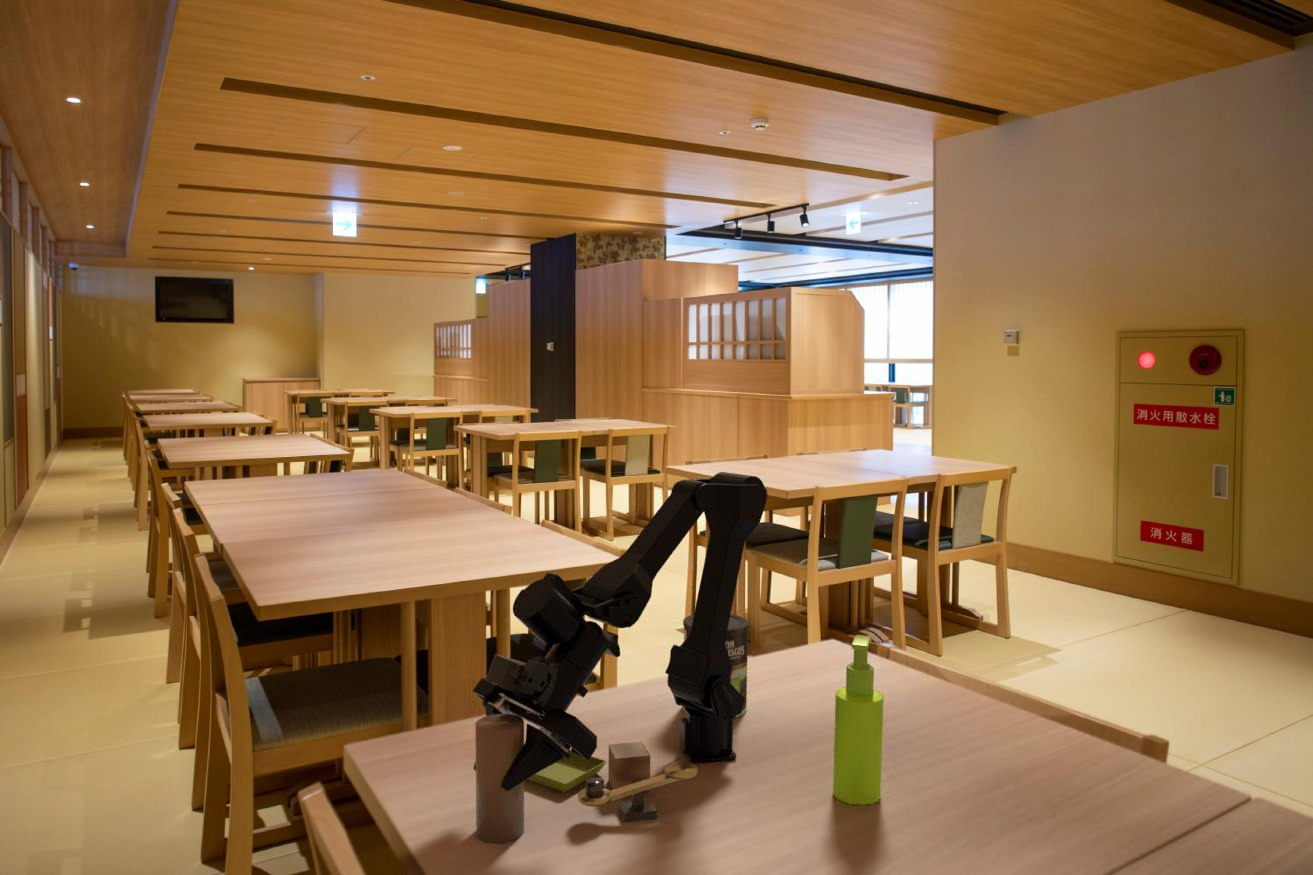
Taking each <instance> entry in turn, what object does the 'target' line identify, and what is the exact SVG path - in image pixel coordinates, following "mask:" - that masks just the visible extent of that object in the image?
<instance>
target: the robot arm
mask: <svg viewBox="0 0 1313 875" xmlns="http://www.w3.org/2000/svg"><path fill="white" fill-rule="evenodd" d="M767 500H768V490H767V488H766V487H765V485H764V482H763V481H762V479H760V477H758V476H755V475H747V474H741V473H735V472H734V473H733V472H727V471H726V472H725V471H720V472H717V473H715V474H714V475H713V476H712V477H709V478H696V479H681V480H679V481H677V482H675V483H674V484H673V486H672V488H671V493H670V494H669V496H668V497H667V498H666V499H665V501H664V502H663V503H662V504H661V506H660V507H659V509H658V510H657V511H656V513H655V514H654V515H653V516H652V518H651V519H650V520H649V521H648V523H647V524H646V525H645V526H644V528H643V529H642V530H641V532H640V533H639V534H638V535H637V537H635V539H634V541H633V542H632V543H631V544H630V546H629V547H628V548H627V549H626V551H625V552H624V553H623V554H622V555H620V557H618V558H615V559H614V560H612V561H610V562H608V563H606V564H604V565H603V566H602V567H601V568H600V569H598V570H597V571H596V572H595V573H594V574H593V575H592V576H591V577H590V578H588V580H587V581H586V582H585V584H584V585H581V586H579V587H576V588H573V589H570V588H569V587H568V585H567V584H566V583H565V581H564V579H563V578H562V577H561V576H560V575H559V574H556V573H553V572H547V573H546V574H545V575H544V577H543V578H542V579H538V580H535V581H533V582H531V583H530V584H529V585H527V586H526V587H525V588H524V589H521V590H520V591H519V593H518V594H517V596H516V598H514V601H513V604H512V612H513V613H512V614H513V616H515V617H516V618H517V619H518V620H519V621H520V622H521V623H522V624H523V625H524V626H525V627H526V628H527V629H528V630H529V631H530V632H531V633H532V634H534V635H535V636H536V637H537V639H539V640H540V641H541V642H542V643H543V644H544V645H546V646H552V647H550V648H551V649H549V651H548V652H547V654H546V655H545V657H543V656H541V655H537V656H534V657H533V658H528V660H527V661H526V662H523V661H520V660H517V659H514V658H510V657H506V656H503V655H500V654H494V657H493V659H492V662H491V665H490V667H489V670H488V673H487V675H486V677H482V678H480V680H479V681H478V683H477V684H476V685H475V687H474V688H473V690H472V693H473V694H474V695H475V696H477V698H479V699H480V700H481V701H482V703H481V704H482V707H483V708H484V710H485V711H484V712H485V715H486V716H489V715H494V714H512V715H516V716H519V717H521V718H522V719H523V720H525V721H527V722H529V723H527V724H526V733H525V734H526V735H525V741H524V746H523V747H522V749H521V751H520V752H519V754H518V756H517V757H516V759H515V760H514V762H513V764H512V765H511V767H510V769H509V770H508V772H507V774H506V776H505V778H504V780H503V782H502V784H501V787H502V788H503V789H504V790H506V791H509V790H510V789H512V788H514V787H515V786H517V785H518V784H520V783H522V782H523V781H524V782H525V781H526V780H527V779H528V778H529V777H531V776H533V775H534V774H536V773H538V772H539V771H541V770H543V769H544V768H546V767H548V766H550V765H552V764H554V763H556V762H558V761H559V760H561V759H563V758H566V759H569V758H570V755H569V754H568V753H567V752H568V750H569V749H571V752H572V753H573V754H575V755H577V756H578V757H580V758H582V759H584V760H586V761H589V759H590V758H591V756H593V754H594V753H595V751H596V750H597V748H598V736H597V735H596V734H595V733H594V732H593V731H592V730H591V729H590V728H589V727H587V726H586V725H585V724H584V722H582V721H581V720H580V719H579V718H577V717H576V716H575V715H572V714H571V713H568V712H567V711H568V709H569V707H570V706H571V704H572V703H573V701H574V700H575V698H576V697H577V696H579V697H581V698H584V697H585V696H586V695H587V693H588V692H589V690H588V689H587V688H586V687H585V686H584V685H585V683H586V682H587V680H588V679H589V678H590V675H591V674H592V673H593V672H594V670H595V669H596V667H597V665H599V662H600V660H601V659H602V658H603V656H604V655H605V654H608V655H609V656H612V657H615V658H619V657H621V648H620V645H619V635H618V634H616V633H614V632H611V631H608V630H607V631H605V629H603V627H602V626H600V624H598V623H597V622H600V623H603V624H606V625H609V626H611V627H615V628H617V629H625V628H629V629H630V628H631V627H633V626H634V625H635V624H636V623H637V622H638V621H639V619H640V618H641V616H642V614H643V612H644V610H645V609H646V607H647V605H648V603H649V602H650V600H651V598H652V592H653V583H654V580H655V579H656V576H657V575H658V573H659V572H660V570H661V569H662V568H663V566H664V565H665V564H666V562H667V561H668V560H669V559H670V557H671V556H672V555H673V553H674V552H675V551H676V549H677V548H678V546H680V544H681V543H682V541H683V540H684V538H685V537H686V536H687V535H688V533H689V532H690V531H691V529H692V528H693V526H694V525H695V524H696V522H697V521H698V520H699V518H700V517H701V516H702V515H703V514H704V517H705V520H706V523H707V526H708V529H709V537H708V543H707V547H706V548H707V549H706V553H705V557H704V563H703V567H702V568H703V569H702V573H701V578H700V583H699V587H698V592H697V598H696V602H695V608H694V613H693V615H694V617H693V622H692V627H691V631H690V635H689V636H688V637H687V639H686V640H685V641H684V640H683V642H682V643H681V644H680V646H679V645H677V644H673V645H672V646H671V648H670V651H669V653H670V654H669V663H668V665H667V667H666V670H665V672H664V673H665V674H666V675H667V687H668V688H669V689H670V692H671V693H672V695H673V698H674V702H675V705H676V706H680V707H682V706H683V707H684V710H683V717H681V718H680V719H679V720H680V721H679V722H680V723H679V747H680V748H681V750H682V751H683V753H684V754H685V755H686V757H687V758H688V759H689V761H690V763H692V764H694V763H705V762H715V761H726V760H734V759H737V754H736V752H735V751H734V750H733V734H734V733H733V732H734V731H733V730H734V729H733V728H734V727H733V726H734V725H733V724H734V720H735V719H736V718H735V717H736V715H739V714H741V713H742V709H743V705H744V701H745V699H744V697H743V696H742V695H741V694H740V693H739V692H738V691H737V690H736V689H735V688H734V687H733V685H732V684H731V683H730V679H731V666H732V665H731V661H730V658H729V654H728V651H727V648H726V644H725V640H726V635H727V629H728V624H729V619H730V614H731V612H732V609H733V603H734V599H735V594H736V593H735V592H736V588H737V583H738V578H739V574H740V568H741V564H742V558H743V553H744V549H745V543H746V540H747V539H748V538H749V536H750V535H751V534H752V533H753V532H754V530H756V528H757V527H758V526H759V525H760V522H761V520H762V517H763V514H764V511H765V509H766V508H765V507H766V504H767ZM584 616H586V617H588V618H589V619H590V620H585V618H584ZM591 620H594V621H591ZM595 621H597V622H595ZM533 725H534V726H533ZM535 726H537V727H535ZM473 770H474V771H475V772H476V760H475V761H474V765H473Z"/></svg>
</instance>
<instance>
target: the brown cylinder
mask: <svg viewBox="0 0 1313 875" xmlns="http://www.w3.org/2000/svg"><path fill="white" fill-rule="evenodd" d="M524 720H525V719H523V718H521V717H519V716H516V715H512V714H494V715H489V716H483V717H481V718H479V719H477V721H476V722H475V761H476V771H475V809H476V810H475V818H476V819H475V827H476V828H475V833H476V837H477V838H478V839H479V840H480V841H482V842H484V843H489V844H499V845H500V844H506V843H507V844H508V843H511V842H513V841H515V840H517V839H519V838H521V837H522V836H523V834H524V832H525V781H523V782H522V783H520V784H518V785H517V786H515V787H514V788H512V789H510V790H509V791H506V790H504V789H503V788H502V787H501V784H502V782H503V780H504V778H505V776H506V774H507V772H508V770H509V769H510V767H511V765H512V764H513V762H514V760H515V759H516V757H517V756H518V754H519V752H520V751H521V749H522V747H523V746H524V744H525V721H524Z"/></svg>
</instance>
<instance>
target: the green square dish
mask: <svg viewBox="0 0 1313 875" xmlns="http://www.w3.org/2000/svg"><path fill="white" fill-rule="evenodd" d="M567 753H568V754H569V755H570V758H569V759H566V758H563V759H561V760H559V761H558V762H556V763H554V764H552V765H550V766H548V767H546V768H544V769H543V770H541V771H539V772H538V773H536V774H534V775H533V776H531V777H529V778H528V779H526V780H527V781H530V782H533V783H537V784H539V785H542V786H546V787H548V788H551V789H554V790H556V791H559V792H563V793H565V792H568V791H570V790H571V789H573V788H575V787H577V786H579V785H580V784H582V783H584V782H586V780H587V779H589V778H594V776H596V775H597V774H598V773H599V772H600V771H601V770H602V768H604V766H605V765H606V764H607V760H605V759H603V758H599V757H598V756H596V757H595V756H593V755H592V756H591V758H590V759H589V761H586V760H584V759H582V758H580V757H578V756H577V755H575V754H573V753H572V752H571V748H570V749H569V750H568V752H567Z"/></svg>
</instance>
